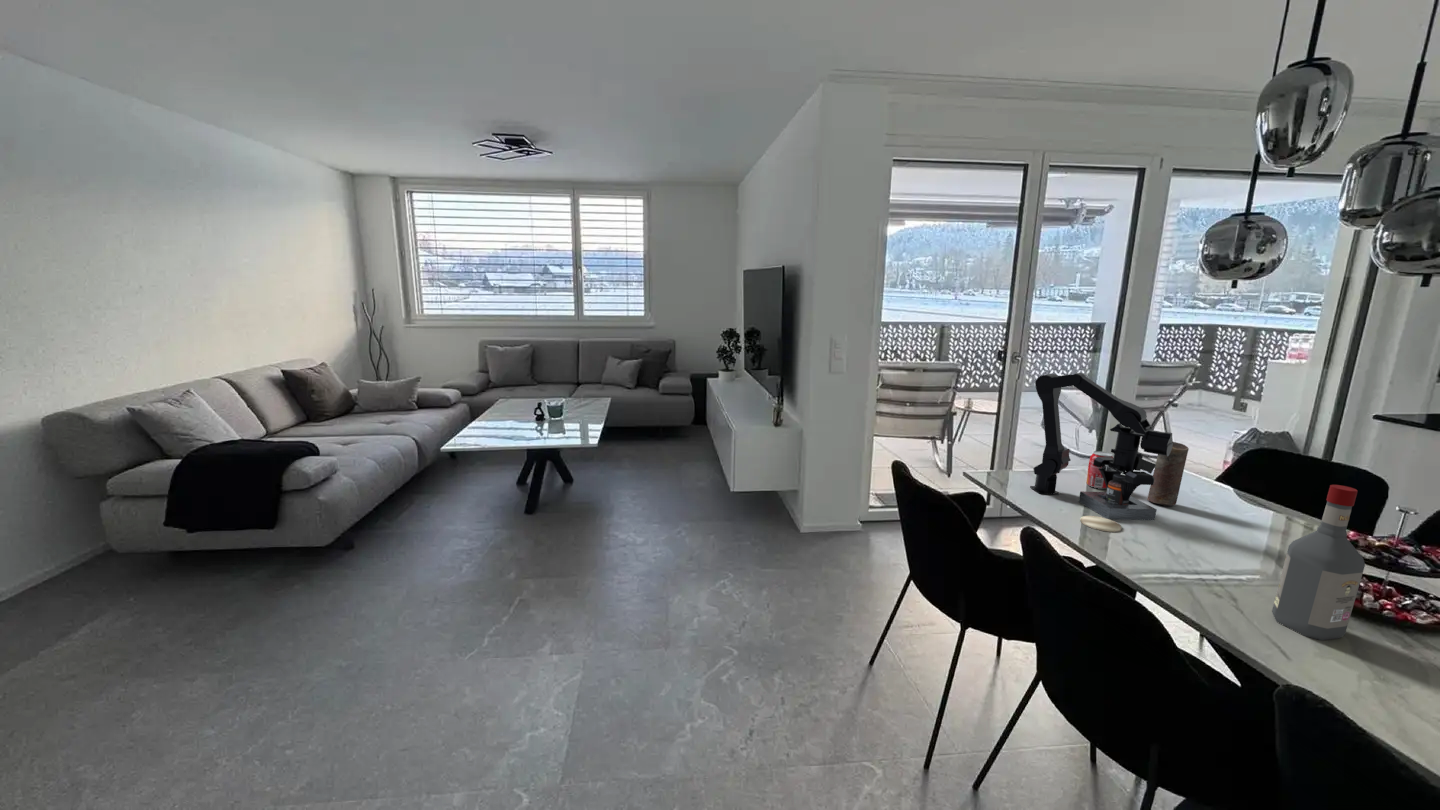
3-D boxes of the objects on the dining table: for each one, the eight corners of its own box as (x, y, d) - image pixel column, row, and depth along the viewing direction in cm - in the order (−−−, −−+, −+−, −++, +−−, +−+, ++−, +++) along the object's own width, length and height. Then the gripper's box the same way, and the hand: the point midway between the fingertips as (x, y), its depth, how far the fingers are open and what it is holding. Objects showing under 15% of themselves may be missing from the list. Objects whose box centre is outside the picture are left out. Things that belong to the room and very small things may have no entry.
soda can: (1102, 483, 201) (1108, 451, 199) (1113, 490, 194) (1119, 457, 192) (1081, 482, 202) (1086, 450, 199) (1091, 489, 195) (1097, 455, 192)
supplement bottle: (1128, 511, 177) (1135, 476, 174) (1125, 516, 172) (1131, 480, 170) (1105, 505, 181) (1111, 471, 178) (1101, 510, 176) (1108, 475, 174)
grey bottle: (1350, 638, 113) (1392, 495, 107) (1316, 642, 111) (1356, 497, 105) (1296, 612, 122) (1332, 479, 116) (1263, 616, 120) (1298, 480, 114)
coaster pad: (1072, 517, 170) (1073, 515, 170) (1105, 518, 170) (1106, 516, 170) (1094, 531, 160) (1094, 529, 160) (1129, 532, 161) (1130, 530, 160)
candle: (1175, 503, 185) (1187, 443, 180) (1178, 510, 179) (1190, 448, 174) (1146, 497, 189) (1157, 439, 184) (1147, 504, 183) (1159, 444, 178)
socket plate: (1078, 501, 183) (1080, 491, 182) (1121, 502, 183) (1123, 492, 183) (1108, 519, 169) (1110, 508, 169) (1154, 520, 170) (1156, 509, 169)
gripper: (1177, 458, 163) (1167, 509, 166) (1131, 440, 181) (1122, 486, 185) (1139, 457, 163) (1129, 508, 166) (1096, 439, 181) (1088, 486, 185)
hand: (1117, 496), depth 175 cm, fingers closed on supplement bottle, 6 cm apart
